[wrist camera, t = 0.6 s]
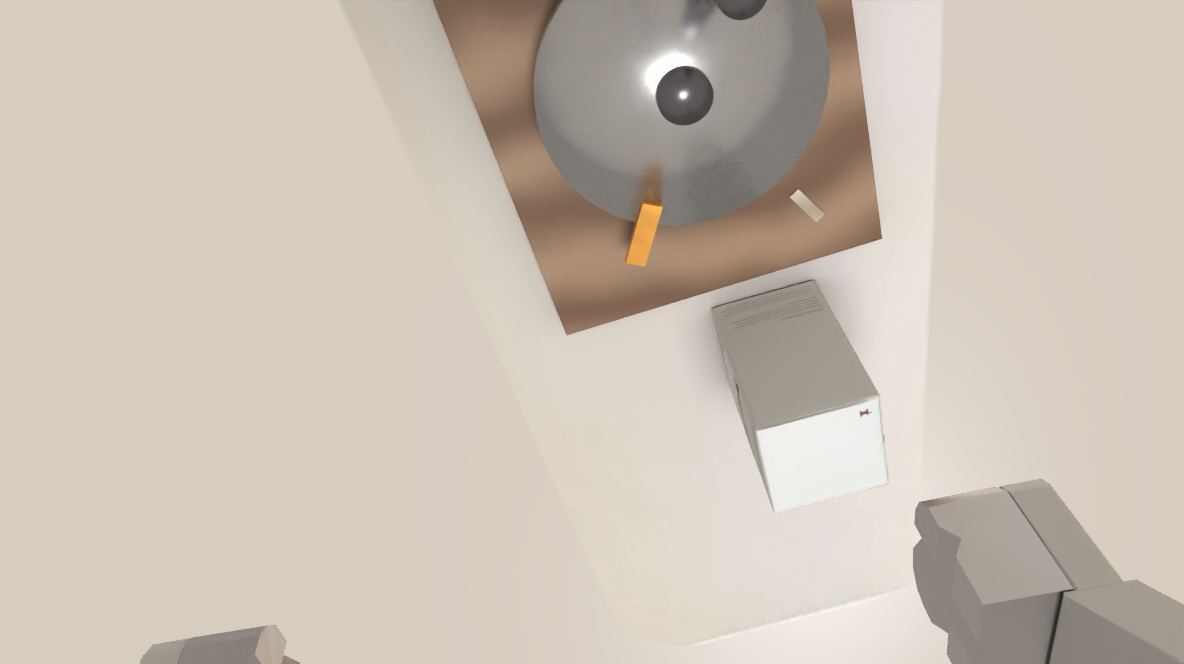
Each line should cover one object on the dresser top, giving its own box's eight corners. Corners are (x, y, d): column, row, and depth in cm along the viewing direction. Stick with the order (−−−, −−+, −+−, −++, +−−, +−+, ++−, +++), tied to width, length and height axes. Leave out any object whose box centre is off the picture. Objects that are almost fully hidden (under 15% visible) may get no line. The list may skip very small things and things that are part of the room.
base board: (388, -123, 43) (385, -118, 42) (806, -276, 41) (817, -276, 40) (565, 322, 59) (566, 336, 58) (873, 227, 57) (883, 240, 56)
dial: (752, 268, 56) (780, 325, 50) (502, 228, 53) (503, 284, 47) (866, -36, 46) (915, -4, 41) (566, -107, 43) (577, -84, 37)
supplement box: (708, 306, 59) (753, 429, 49) (816, 276, 59) (885, 394, 48) (726, 388, 64) (772, 517, 53) (827, 361, 63) (893, 486, 53)
